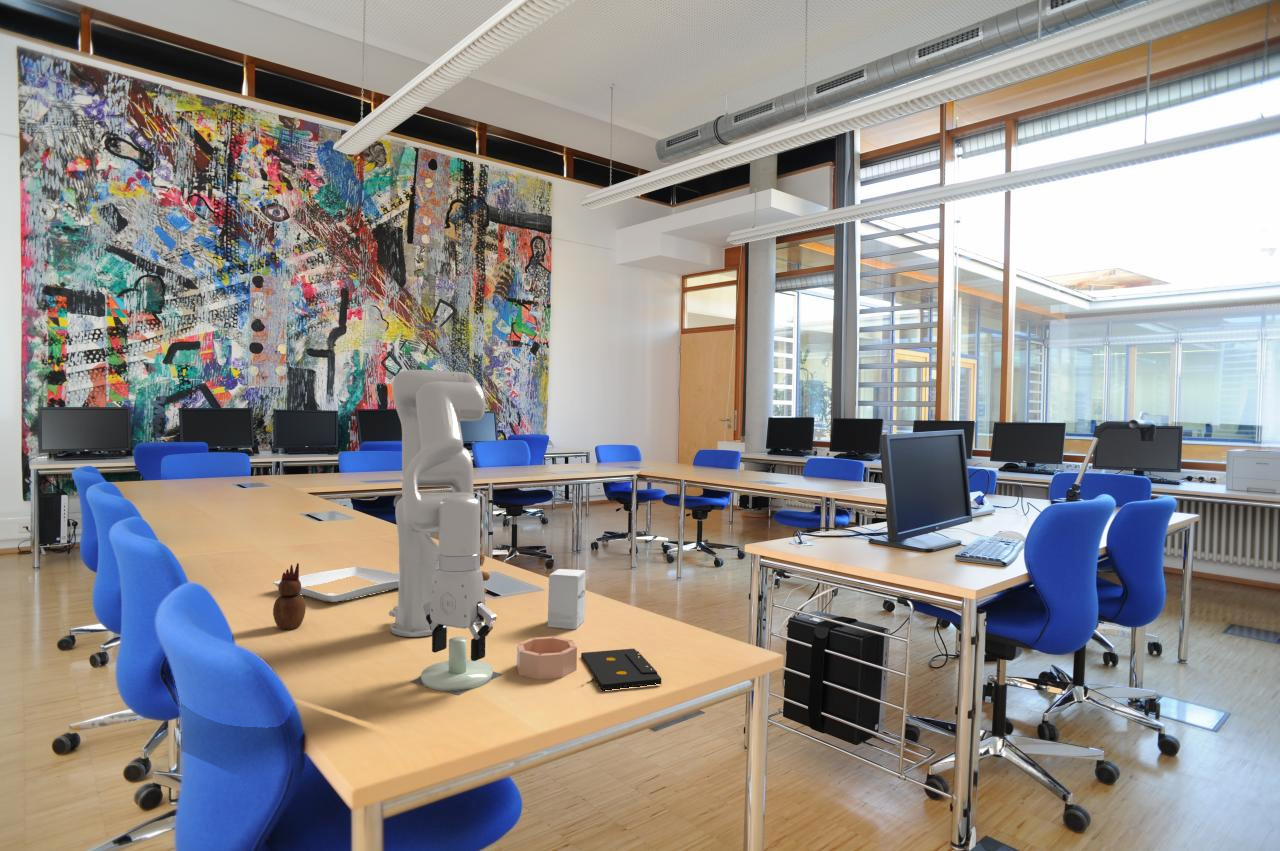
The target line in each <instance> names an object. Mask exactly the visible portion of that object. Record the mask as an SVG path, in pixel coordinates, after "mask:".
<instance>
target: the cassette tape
mask: <svg viewBox="0 0 1280 851" xmlns="http://www.w3.org/2000/svg"><path fill="white" fill-rule="evenodd" d="M580 659H582V661H583V662H584V664H585V665H586V666H587V668H588V670H589V672H591V674H592V676H593V680H594V682H595V683H596V685H597V684H598V685H597V686H598V688H599V687H600V688H599V690H600V689H601V690H602V691H601V690H600V691H601V692H603V691H604V692H606V691H605V690H612V689H620V688H629V687H640V686H647V685H656V684H661V685H662V677H661V676H660V675H659V673H658V671H657V670H656V668H654V667H653V666H652V665H651V663H649V661H648V660H647V659H646V658H645V657H644V656H643V655H642V654H641V653H640V652H639V651H637V649H636V648H625V649H623V648H621V649H611V650H599V651H598V650H597V651H588V652H581V653H580ZM655 683H656V684H655Z"/></svg>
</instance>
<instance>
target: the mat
mask: <svg viewBox="0 0 1280 851" xmlns="http://www.w3.org/2000/svg"><path fill="white" fill-rule="evenodd" d="M503 675H504V673H500V672H497V671H493V677H492V679H491V680H490V681H492V680H494V679H497V678H498V677H501V676H503ZM409 682H410V683H413V684H416V685H420V686H423V687H425V686H424V685H423V684H422V683H421V676H420V677H417V678H414V679H412V680H410V681H409ZM473 689H474V688H472V689H467V690H460V691H444V692H446V693H449V694H452V695H456V696H460V695H462V694H464V693H466V692H469V691H471V690H473Z"/></svg>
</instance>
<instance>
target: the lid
mask: <svg viewBox="0 0 1280 851" xmlns="http://www.w3.org/2000/svg"><path fill="white" fill-rule="evenodd" d="M467 641H468V640H467V638H466V637H464V636H455V637H451V638H449V640H448V660H446V661H441V662H436V663H433V664H430V665H429V666H427V667H425V668H424V669H423V670H422V671H421V673H420V677H421V683H422V684H423V685H424V686H423V685H422V686H423V687H426V688H427V689H431V690H435V691H440V692H445V691H460V690H467V689H471V690H473V689H475V688H480V687H482V686H484V685H486V684H488V683H489V682H490V681H492V680H493V679H492V677H493V672H494V671H493V666H492V665H491V664H489V663H487V662H485V661H481V660H476V661H472V660H471V659H467ZM491 679H492V680H491ZM472 688H473V689H472Z"/></svg>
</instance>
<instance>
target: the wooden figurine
mask: <svg viewBox="0 0 1280 851" xmlns="http://www.w3.org/2000/svg"><path fill="white" fill-rule="evenodd" d="M299 571H300V564H299V562H296V565H295V569H294V568H293V564H290V568H289V569H288V568H287V569H286V571H285V572H283V573H282V575H281V576H282V577H281V579H280V580H281V582H280V583H279V587H278V586H277V588H278V593H279V595H280V596H277V597H276V599H275V602H274V603H273V609H272V616H273V619H274V623H275V625H276V626H277V627H278V628H280V629H282V630H293V629H294V630H295V629H297V628H299V627H301V625H302V623H303V622H304V619H305V614H306V607H307V606H306V602H305V598H304V596H303V595H299V593H300V591H301V582H300V581H299V576H300V572H299Z"/></svg>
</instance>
